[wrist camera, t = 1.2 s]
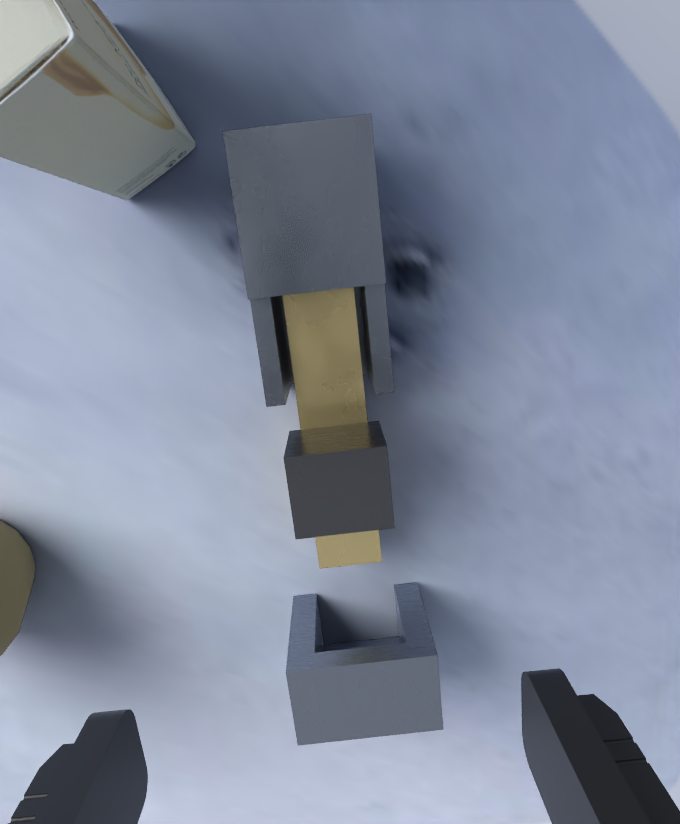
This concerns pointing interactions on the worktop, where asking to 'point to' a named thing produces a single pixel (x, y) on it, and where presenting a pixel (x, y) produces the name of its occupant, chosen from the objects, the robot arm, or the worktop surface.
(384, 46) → the worktop surface
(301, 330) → the yellow bar
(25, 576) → the squeeze bottle
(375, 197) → the sleeve
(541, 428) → the worktop surface
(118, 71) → the skincare box
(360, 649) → the socket
